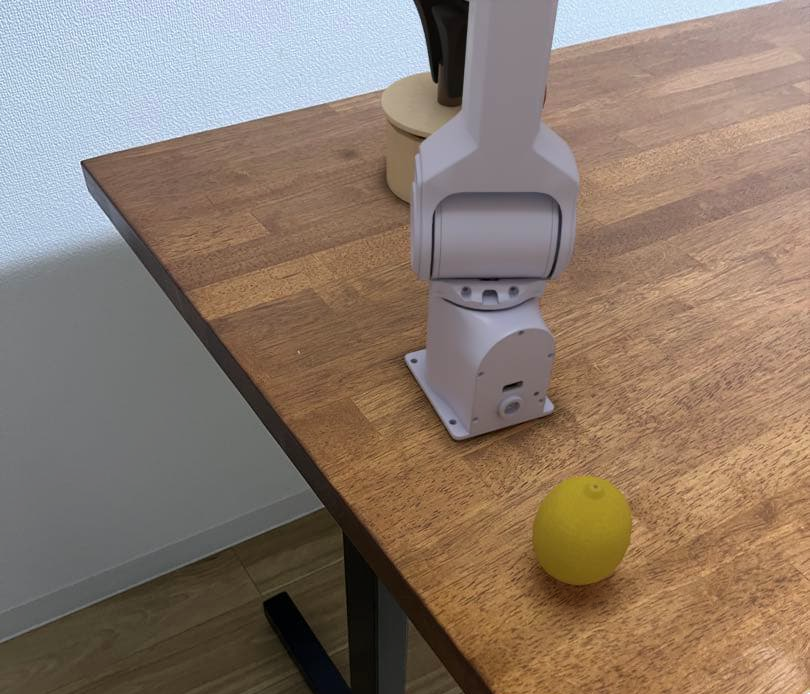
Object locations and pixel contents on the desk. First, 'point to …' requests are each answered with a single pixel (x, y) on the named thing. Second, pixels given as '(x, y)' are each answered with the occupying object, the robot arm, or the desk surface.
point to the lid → (420, 103)
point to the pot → (401, 160)
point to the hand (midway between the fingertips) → (451, 88)
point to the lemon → (582, 530)
